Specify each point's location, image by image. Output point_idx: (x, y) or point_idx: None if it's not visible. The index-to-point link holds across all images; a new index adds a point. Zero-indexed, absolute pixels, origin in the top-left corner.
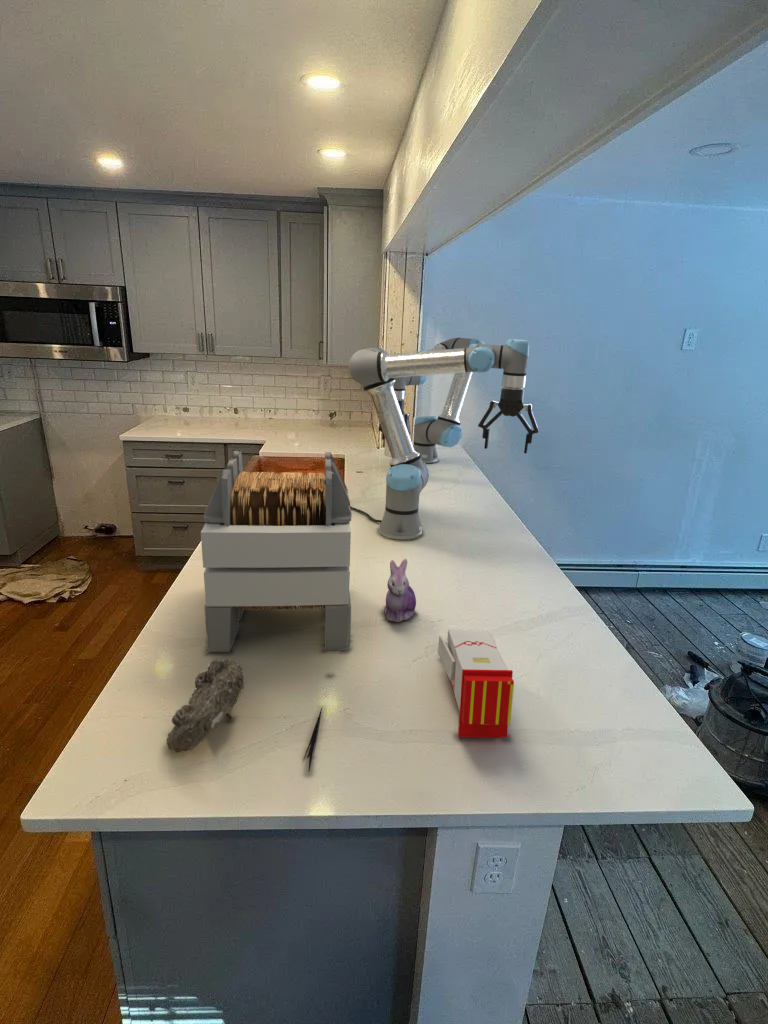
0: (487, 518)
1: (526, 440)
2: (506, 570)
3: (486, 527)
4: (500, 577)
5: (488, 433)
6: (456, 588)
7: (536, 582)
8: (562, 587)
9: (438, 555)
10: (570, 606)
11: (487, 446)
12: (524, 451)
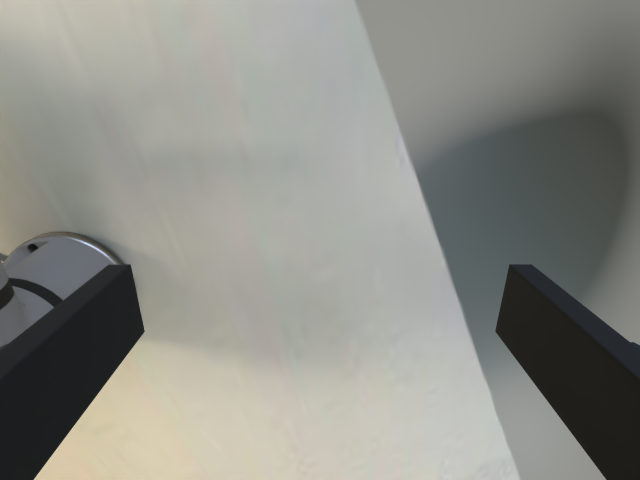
0: (268, 36)
1: (585, 435)
2: (376, 383)
3: (284, 138)
4: (367, 413)
5: (31, 433)
6: (297, 471)
7: (437, 407)
8: (487, 408)
9: (221, 371)
10: (492, 460)
11: (128, 289)
12: (505, 342)
